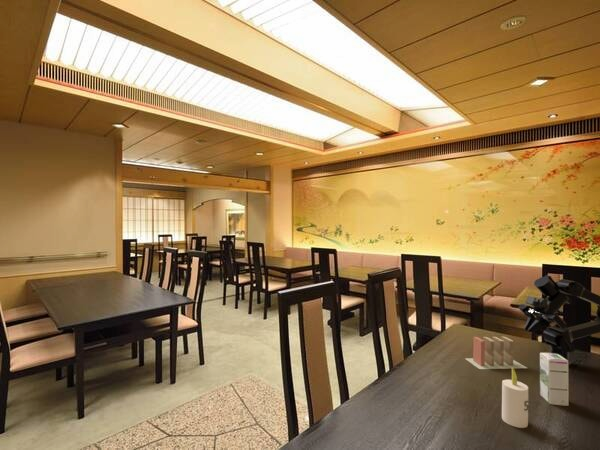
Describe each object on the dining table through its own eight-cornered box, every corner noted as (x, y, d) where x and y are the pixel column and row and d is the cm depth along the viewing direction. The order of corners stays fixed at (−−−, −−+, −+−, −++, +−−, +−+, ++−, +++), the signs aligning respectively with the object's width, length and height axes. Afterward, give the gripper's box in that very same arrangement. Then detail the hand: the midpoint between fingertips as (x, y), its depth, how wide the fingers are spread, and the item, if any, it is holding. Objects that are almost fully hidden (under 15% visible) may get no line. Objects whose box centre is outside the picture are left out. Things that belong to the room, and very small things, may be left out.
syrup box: (569, 406, 101) (569, 360, 101) (548, 404, 102) (548, 358, 102) (558, 396, 106) (559, 353, 106) (538, 394, 107) (539, 351, 107)
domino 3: (495, 360, 134) (495, 336, 134) (503, 365, 129) (503, 340, 129) (491, 360, 134) (491, 336, 134) (499, 365, 129) (500, 340, 129)
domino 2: (486, 360, 134) (486, 336, 134) (494, 365, 129) (494, 341, 129) (482, 360, 134) (482, 336, 134) (490, 365, 129) (490, 341, 129)
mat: (509, 358, 137) (509, 357, 137) (527, 368, 127) (527, 368, 127) (464, 359, 136) (464, 358, 136) (479, 369, 126) (479, 369, 126)
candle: (519, 430, 88) (520, 376, 88) (496, 417, 94) (497, 366, 94) (533, 425, 91) (534, 372, 91) (510, 412, 97) (511, 363, 97)
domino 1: (476, 360, 133) (477, 336, 133) (484, 366, 128) (484, 341, 128) (473, 360, 133) (473, 336, 133) (480, 366, 128) (481, 341, 128)
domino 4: (504, 360, 134) (504, 336, 134) (513, 365, 129) (513, 340, 129) (500, 360, 134) (501, 336, 134) (509, 365, 129) (509, 340, 129)
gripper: (522, 285, 142) (498, 310, 141) (559, 294, 123) (532, 323, 123) (539, 303, 142) (515, 328, 142) (578, 315, 124) (551, 344, 123)
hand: (527, 330), depth 132 cm, fingers closed
